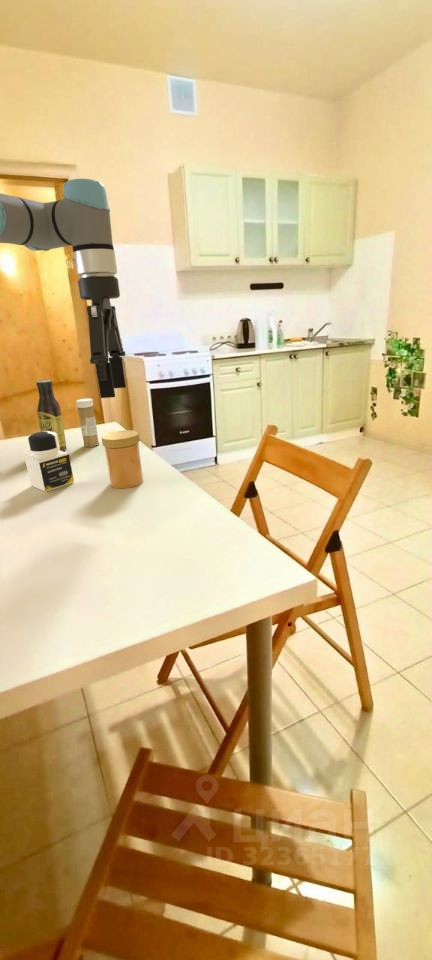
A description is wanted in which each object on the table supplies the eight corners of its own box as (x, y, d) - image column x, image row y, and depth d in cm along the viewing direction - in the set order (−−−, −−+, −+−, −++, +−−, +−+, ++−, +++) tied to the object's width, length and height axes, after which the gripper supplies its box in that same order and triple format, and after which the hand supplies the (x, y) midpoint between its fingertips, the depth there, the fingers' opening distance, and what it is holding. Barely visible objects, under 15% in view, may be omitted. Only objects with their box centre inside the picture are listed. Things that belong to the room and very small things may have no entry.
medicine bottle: (45, 492, 97) (34, 439, 93) (30, 486, 102) (18, 434, 98) (74, 482, 102) (65, 431, 98) (59, 476, 107) (49, 427, 102)
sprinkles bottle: (81, 445, 132) (73, 399, 127) (96, 442, 134) (89, 397, 130) (86, 448, 129) (78, 401, 124) (101, 445, 131) (94, 399, 126)
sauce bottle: (40, 452, 127) (25, 382, 120) (58, 446, 132) (45, 378, 125) (54, 455, 124) (39, 383, 117) (72, 449, 129) (59, 379, 122)
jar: (103, 486, 99) (96, 440, 95) (125, 475, 104) (118, 431, 101) (129, 490, 95) (122, 442, 91) (149, 478, 101) (144, 433, 97)
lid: (94, 446, 95) (93, 438, 95) (119, 436, 102) (118, 429, 101) (123, 449, 92) (122, 441, 91) (147, 439, 98) (146, 431, 97)
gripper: (93, 282, 96) (108, 384, 104) (58, 273, 74) (80, 404, 82) (127, 279, 96) (140, 382, 104) (103, 270, 74) (121, 401, 82)
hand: (114, 392), depth 93 cm, fingers open, 11 cm apart
